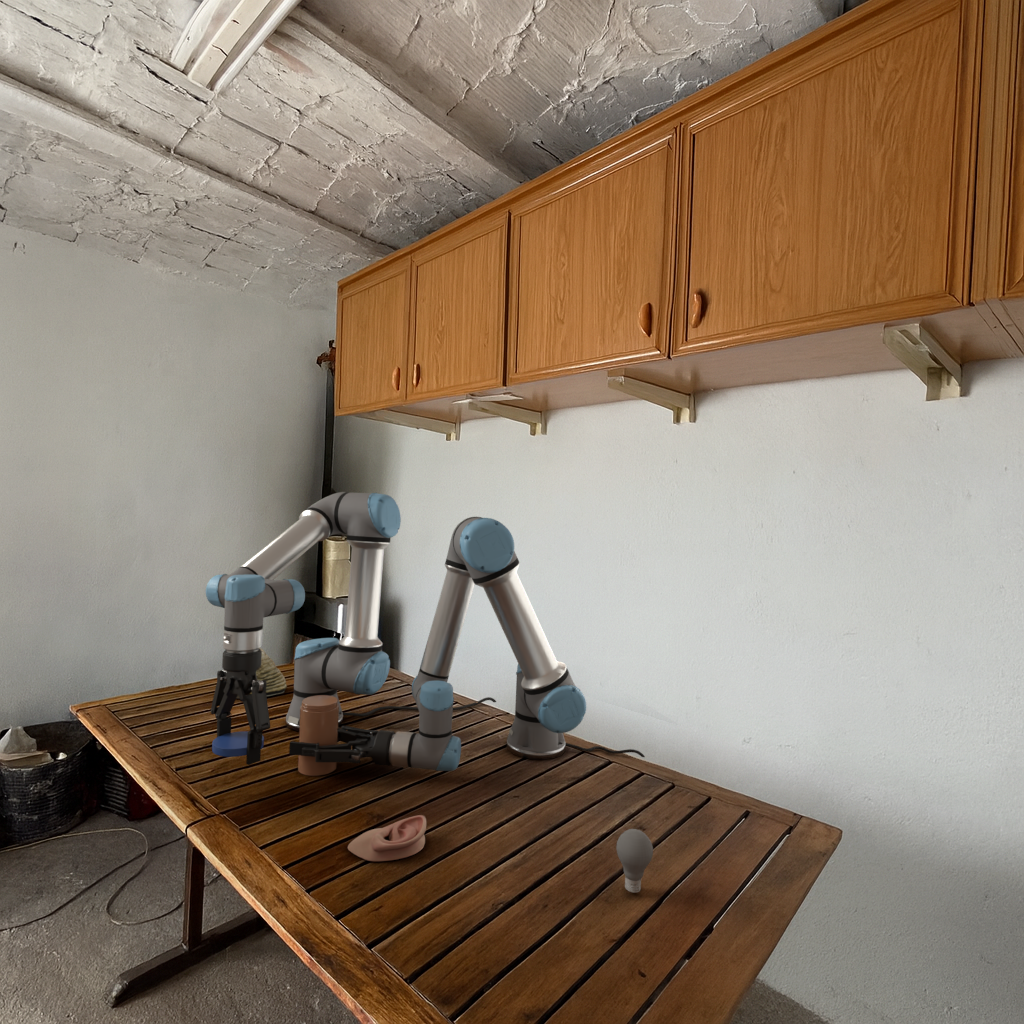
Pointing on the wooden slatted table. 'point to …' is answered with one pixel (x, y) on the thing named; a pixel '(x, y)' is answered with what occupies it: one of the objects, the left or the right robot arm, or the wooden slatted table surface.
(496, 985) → the wooden slatted table surface
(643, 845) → the light bulb
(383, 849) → the anatomical model
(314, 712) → the jar
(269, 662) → the fossil
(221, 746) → the lid
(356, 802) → the wooden slatted table surface
